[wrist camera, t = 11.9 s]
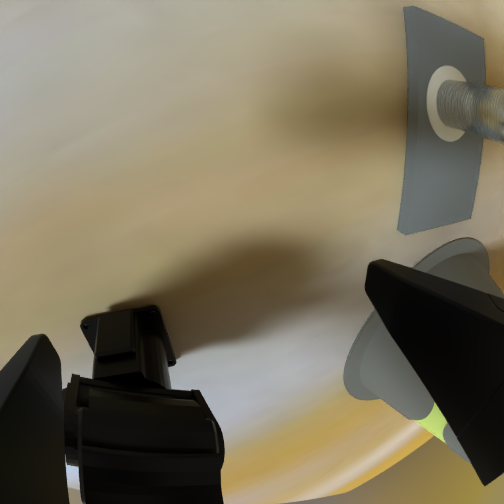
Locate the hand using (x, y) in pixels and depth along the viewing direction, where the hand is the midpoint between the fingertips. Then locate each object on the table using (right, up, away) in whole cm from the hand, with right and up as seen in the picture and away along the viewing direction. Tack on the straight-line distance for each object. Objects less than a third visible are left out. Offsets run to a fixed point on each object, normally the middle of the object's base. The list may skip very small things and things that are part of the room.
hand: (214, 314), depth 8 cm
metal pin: (+18, +14, +13) cm, 26 cm away
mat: (+19, +13, +15) cm, 27 cm away
